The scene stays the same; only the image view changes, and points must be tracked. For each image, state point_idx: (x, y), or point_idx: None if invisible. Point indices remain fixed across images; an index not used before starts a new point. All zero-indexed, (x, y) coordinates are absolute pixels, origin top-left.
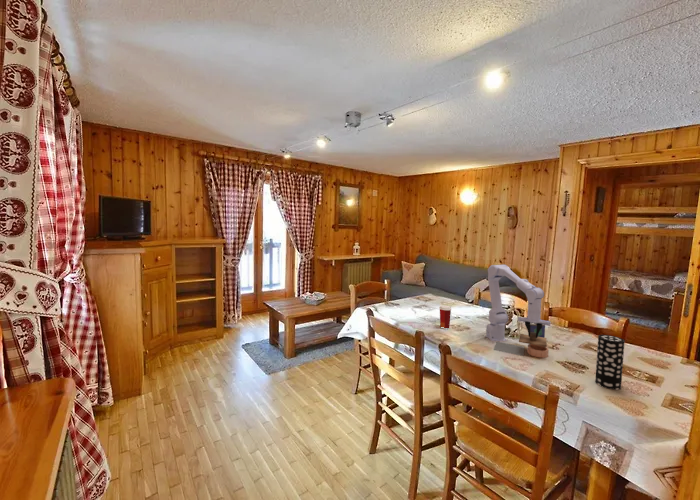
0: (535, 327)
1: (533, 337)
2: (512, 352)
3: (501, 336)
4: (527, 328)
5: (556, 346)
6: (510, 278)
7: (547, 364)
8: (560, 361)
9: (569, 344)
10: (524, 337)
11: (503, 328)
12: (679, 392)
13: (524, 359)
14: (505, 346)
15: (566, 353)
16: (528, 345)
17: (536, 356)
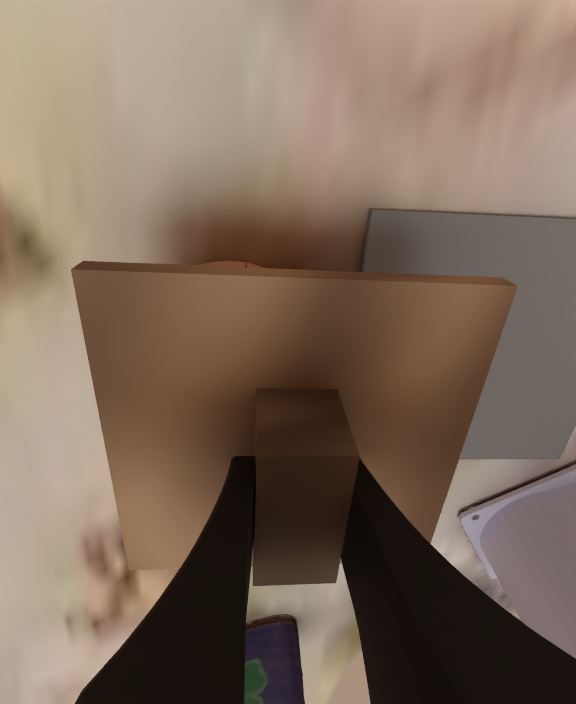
0: None
1: (292, 424)
2: (475, 255)
3: (533, 530)
4: (456, 579)
5: (105, 583)
6: None
7: (115, 89)
8: (11, 278)
9: (34, 648)
10: (398, 463)
11: (568, 621)
12: None
13: (367, 118)
14: (508, 385)
15: (12, 496)
16: None
17: (239, 262)
